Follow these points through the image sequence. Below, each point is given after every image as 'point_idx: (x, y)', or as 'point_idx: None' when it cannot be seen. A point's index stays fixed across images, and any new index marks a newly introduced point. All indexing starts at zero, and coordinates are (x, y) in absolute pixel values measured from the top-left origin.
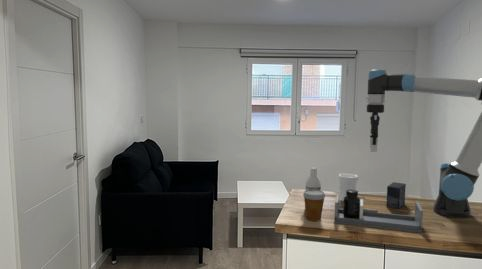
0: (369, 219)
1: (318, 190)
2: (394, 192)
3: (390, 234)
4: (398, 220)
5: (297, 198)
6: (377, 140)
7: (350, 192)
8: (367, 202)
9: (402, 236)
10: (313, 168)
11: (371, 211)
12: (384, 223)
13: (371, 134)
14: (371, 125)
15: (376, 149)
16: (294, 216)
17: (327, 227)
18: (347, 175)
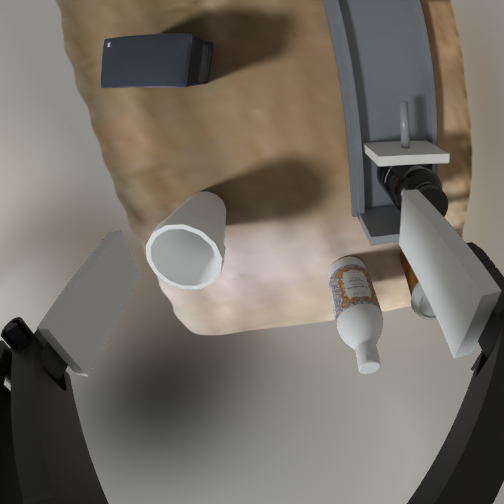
0: (394, 120)
1: (422, 296)
2: (195, 56)
3: (460, 73)
4: (364, 37)
5: (266, 318)
6: (482, 264)
7: (446, 210)
8: (191, 148)
9: (460, 47)
10: (378, 367)
11: (408, 120)
12: (433, 83)
13: (85, 367)
14: (97, 492)
15: (428, 207)
16: (407, 289)
17: (458, 215)
18: (157, 261)
